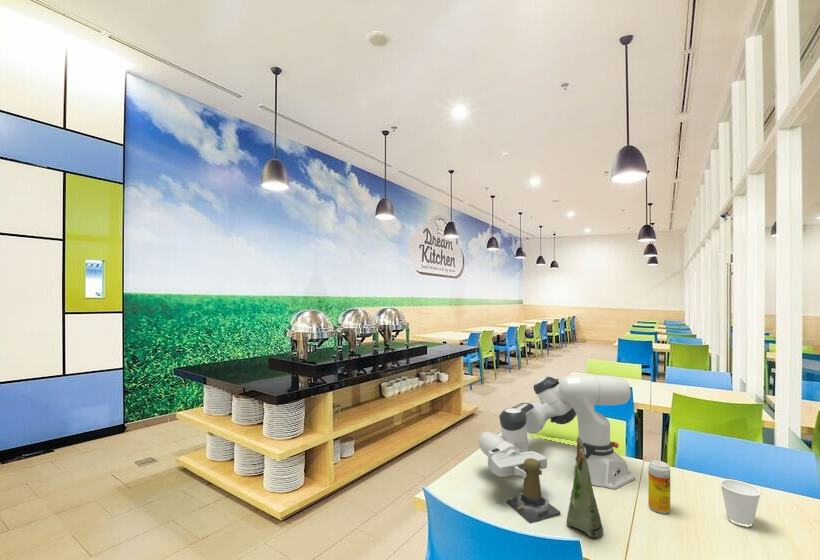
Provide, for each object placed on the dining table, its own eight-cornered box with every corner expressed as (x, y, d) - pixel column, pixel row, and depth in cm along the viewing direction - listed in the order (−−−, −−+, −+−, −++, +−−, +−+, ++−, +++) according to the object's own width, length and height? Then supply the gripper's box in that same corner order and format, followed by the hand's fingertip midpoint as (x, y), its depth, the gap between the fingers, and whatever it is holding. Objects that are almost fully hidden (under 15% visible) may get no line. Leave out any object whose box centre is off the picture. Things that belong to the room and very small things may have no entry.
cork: (541, 499, 126) (541, 465, 126) (522, 496, 127) (522, 462, 127) (541, 490, 131) (541, 457, 131) (522, 487, 133) (522, 454, 133)
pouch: (585, 543, 112) (585, 455, 112) (554, 520, 123) (554, 440, 123) (612, 534, 117) (613, 449, 117) (580, 512, 127) (581, 435, 128)
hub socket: (535, 496, 137) (535, 487, 137) (560, 515, 126) (560, 505, 126) (506, 502, 133) (506, 494, 133) (529, 523, 121) (529, 513, 121)
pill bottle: (663, 516, 125) (663, 469, 126) (644, 506, 131) (644, 461, 131) (674, 511, 128) (674, 465, 128) (655, 502, 134) (655, 458, 134)
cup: (764, 536, 116) (764, 498, 116) (722, 525, 121) (722, 489, 121) (757, 519, 124) (757, 484, 125) (717, 509, 130) (717, 476, 130)
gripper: (532, 460, 145) (558, 478, 132) (484, 469, 138) (507, 489, 125) (532, 443, 145) (559, 459, 132) (484, 451, 138) (507, 469, 125)
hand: (533, 474), depth 129 cm, fingers closed on cork, 4 cm apart
